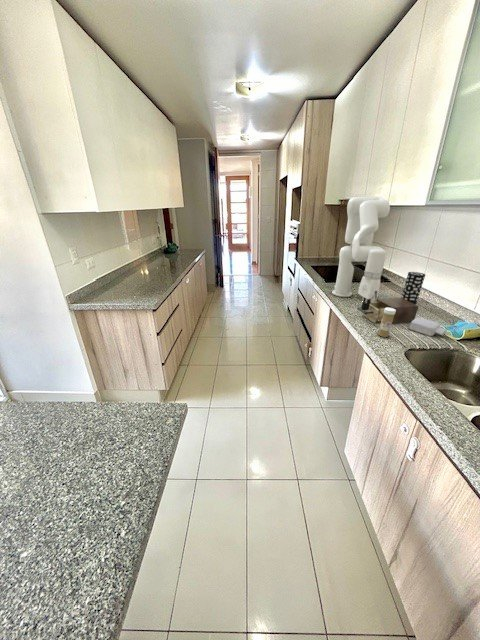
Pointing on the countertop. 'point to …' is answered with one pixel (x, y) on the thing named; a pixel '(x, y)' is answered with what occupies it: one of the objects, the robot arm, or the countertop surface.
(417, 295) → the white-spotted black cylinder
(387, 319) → the sprinkles bottle
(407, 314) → the cabinet
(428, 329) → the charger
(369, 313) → the tray
